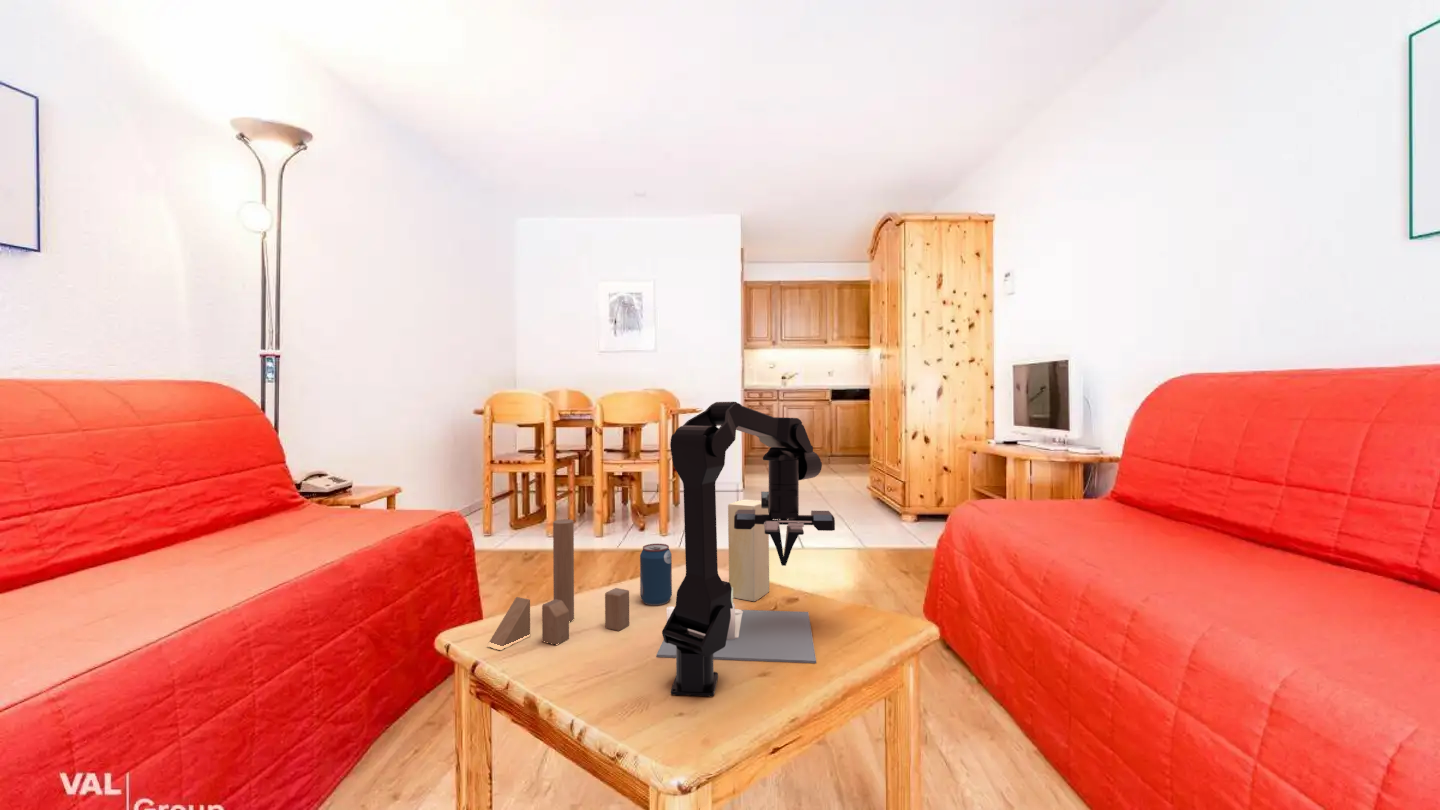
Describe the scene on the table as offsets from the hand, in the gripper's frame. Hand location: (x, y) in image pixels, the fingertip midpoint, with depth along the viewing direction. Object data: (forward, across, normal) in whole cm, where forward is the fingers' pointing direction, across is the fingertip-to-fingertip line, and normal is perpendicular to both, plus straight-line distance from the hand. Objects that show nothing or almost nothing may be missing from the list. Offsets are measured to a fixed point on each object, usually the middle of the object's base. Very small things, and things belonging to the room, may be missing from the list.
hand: (783, 565), depth 104 cm
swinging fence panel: (+12, +11, -2) cm, 16 cm away
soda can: (+13, +28, -15) cm, 34 cm away
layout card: (+12, +8, +2) cm, 15 cm away
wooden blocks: (+13, +42, +5) cm, 44 cm away
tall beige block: (+13, +7, -20) cm, 25 cm away
